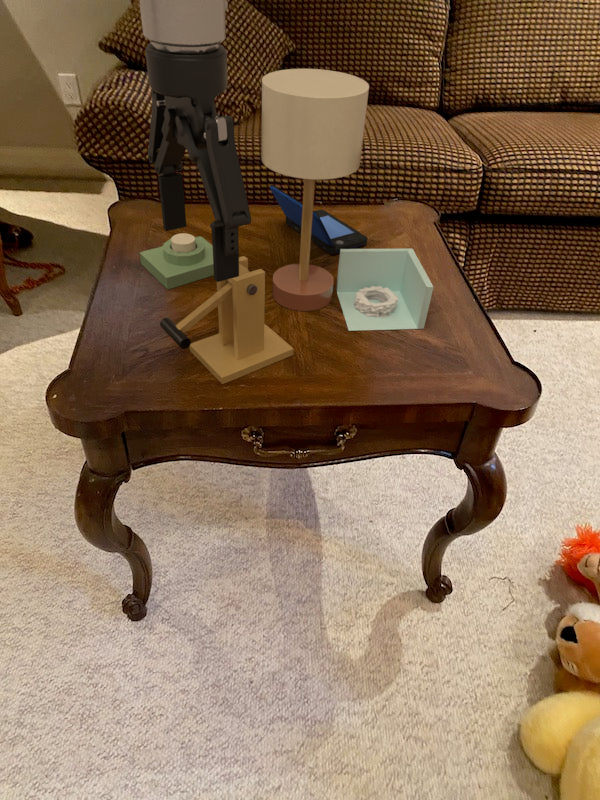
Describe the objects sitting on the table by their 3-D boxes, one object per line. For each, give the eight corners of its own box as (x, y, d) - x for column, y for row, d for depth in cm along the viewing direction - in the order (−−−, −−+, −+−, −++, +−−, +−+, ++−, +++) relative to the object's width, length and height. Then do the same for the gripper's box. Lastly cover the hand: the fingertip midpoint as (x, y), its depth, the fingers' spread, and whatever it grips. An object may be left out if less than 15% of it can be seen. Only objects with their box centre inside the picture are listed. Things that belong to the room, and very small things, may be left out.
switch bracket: (222, 384, 80) (218, 297, 70) (189, 350, 85) (181, 265, 75) (293, 355, 85) (298, 270, 76) (258, 325, 90) (259, 242, 81)
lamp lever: (185, 353, 75) (176, 342, 73) (164, 332, 78) (156, 320, 76) (263, 289, 77) (256, 276, 75) (240, 270, 80) (233, 258, 78)
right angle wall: (336, 289, 99) (340, 249, 94) (404, 288, 101) (412, 248, 96) (348, 330, 90) (354, 288, 85) (423, 328, 92) (433, 287, 87)
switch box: (167, 289, 97) (165, 267, 94) (140, 263, 102) (137, 242, 100) (230, 270, 102) (229, 249, 100) (201, 246, 108) (200, 226, 105)
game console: (370, 246, 112) (376, 198, 105) (313, 263, 106) (316, 214, 99) (321, 214, 121) (325, 169, 115) (266, 228, 115) (267, 181, 109)
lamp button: (178, 256, 98) (177, 246, 97) (167, 246, 100) (166, 236, 99) (200, 250, 100) (199, 240, 98) (188, 240, 102) (187, 231, 101)
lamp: (293, 328, 90) (305, 103, 69) (243, 287, 98) (241, 75, 77) (361, 301, 97) (391, 89, 76) (310, 265, 105) (324, 64, 84)
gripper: (291, 72, 49) (282, 293, 63) (168, 16, 64) (183, 204, 78) (210, 80, 45) (220, 311, 60) (100, 19, 60) (129, 215, 75)
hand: (199, 251), depth 69 cm, fingers open, 13 cm apart
